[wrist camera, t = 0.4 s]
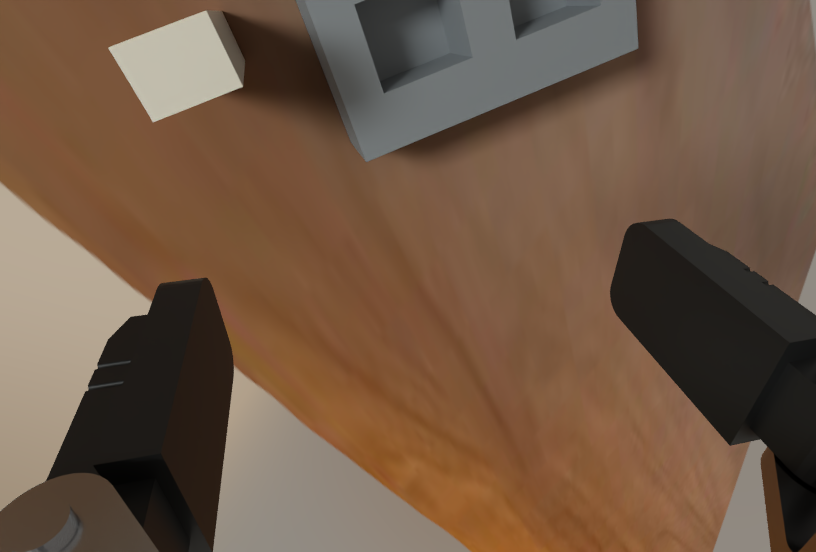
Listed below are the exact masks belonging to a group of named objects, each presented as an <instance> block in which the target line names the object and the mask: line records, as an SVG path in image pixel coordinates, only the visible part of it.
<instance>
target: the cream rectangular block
mask: <svg viewBox="0 0 816 552" xmlns="http://www.w3.org/2000/svg"><path fill="white" fill-rule="evenodd" d="M109 50H110V51H111V53H112V55H113V56H114V58H115V60H116V61H117V63H118V65H119V66H120V68H121V70H122V71H123V73H124V75H125V76H126V78H127V80H128V81H129V83H130V85H131V86H132V88H133V90H134V91H135V93H136V95H137V96H138V98H139V99H140V101H141V103H142V104H143V106H144V108H145V109H146V111H147V113H148V114H149V116H150V118H151V119H152V121H153V122H155V121H158V120H160V119H163V118H165V117H168V116H170V115H173V114H175V113H178V112H180V111H183V110H185V109H188V108H190V107H193V106H195V105H198V104H201V103H203V102H206V101H208V100H211V99H213V98H216V97H218V96H221V95H223V94H226V93H228V92H231V91H233V90H236V89H238V88H241V87H243V81H244V69H245V59H244V57H243V55H242V53H241V51H240V49H239V46H238V44H237V42H236V40H235V38H234V36H233V34H232V32H231V29H230V27H229V25H228V23H227V21H226V19H225V17H224V14H223V12H222V11H208V10H206V11H203V12H201V13H198V14H195V15H193V16H190V17H187V18H185V19H182V20H180V21H177V22H174V23H172V24H169V25H166V26H164V27H161V28H159V29H156V30H153V31H151V32H148V33H145V34H143V35H140V36H137V37H135V38H132V39H130V40H127V41H124V42H122V43H119V44H116V45H114V46H111V47H109Z"/></svg>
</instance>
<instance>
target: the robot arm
mask: <svg viewBox="0 0 816 552" xmlns="http://www.w3.org/2000/svg"><path fill="white" fill-rule="evenodd" d="M610 297H611V303H612V306H613V309H614V311H615V313H616V315H617V316H618V317H619V319H620V320H621V321H622V322H623V323H624V324H625V325H626V327H627V328H628V329H629V330H630V331H631V332H632V334H633V335H634V336H635V337H636V338H637V339H638V340H639V342H640V343H641V344H642V345H643V346H644V347H645V348H646V350H647V351H648V352H649V353H650V354H651V355H652V357H653V358H654V359H655V360H656V361H657V362H658V363H659V365H660V366H661V367H662V368H663V369H664V370H665V371H666V373H667V374H668V375H669V376H670V377H671V378H672V380H673V381H674V382H675V383H676V384H677V385H678V386H679V388H680V389H681V390H682V391H683V392H684V393H685V395H686V396H687V397H688V398H689V399H690V400H691V401H692V403H693V404H694V405H695V406H696V407H697V408H698V409H699V411H700V412H701V413H702V414H703V415H704V416H705V418H706V419H707V420H708V421H709V422H710V423H711V424H712V426H713V427H714V428H715V429H716V430H717V431H718V432H719V434H720V435H721V436H722V437H723V438H724V439H725V441H726V442H727V443H728V444H729V445H730V446H731V445H735V444H740V443H745V442H749V441H754V440H759V439H761V440H762V441H763V442H764V443H765V444H766V445H767V446H768V447H767V448H766V450H765V451H764V453H763V454H762V457H761V470H762V479H763V487H764V496H765V504H766V513H767V521H768V530H769V538H770V547H771V552H816V315H815V314H813V313H812V312H810V311H809V310H808V309H806V308H805V307H803V306H802V305H801V304H799V303H798V302H797V301H795V300H794V299H792V298H791V297H790V296H788V295H787V294H785V293H784V292H783V291H781V290H780V289H778V288H777V287H776V286H774V285H769V284H768V281H767V280H766V279H765V278H763V277H762V276H760V275H759V274H758V273H756V272H755V271H752V272H751V271H750V268H749V267H748V266H746V265H745V264H744V263H742V262H741V261H740V260H738V259H737V258H735V257H734V256H733V255H731V254H730V253H728V252H727V251H724V250H722V249H720V248H717V247H715V246H713V245H711V244H709V243H707V242H706V241H704V240H703V239H702V238H700V237H699V236H698V235H696V234H695V233H693V232H692V231H691V230H689V229H688V228H687V227H685V226H684V225H683V224H681V223H680V222H678V221H677V220H674V219H664V220H656V221H648V222H640V223H634V224H632V225H631V226H630V227H629V228H628V229H627V231H626V233H625V236H624V240H623V243H622V247H621V251H620V254H619V258H618V262H617V265H616V269H615V273H614V277H613V280H612V284H611V289H610ZM233 374H234V366H233V355H232V349H231V344H230V341H229V338H228V335H227V331H226V328H225V325H224V322H223V319H222V316H221V312H220V309H219V306H218V303H217V300H216V297H215V293H214V290H213V287H212V285H211V283H210V281H209V280H208V278H199V279H191V280H183V281H176V282H168V283H161V284H160V285H159V286H158V288H157V290H156V293H155V296H154V299H153V301H152V304H151V307H150V310H149V312H148V315H142V316H134V317H130V318H129V319H128V320H127V321H126V322H125V323H124V324H123V325H122V326H121V327H120V328H119V329H118V330H117V331H116V332H115V333H114V334H113V335H112V336H111V337H110V338H109V339H108V341H107V344H106V346H105V348H104V350H103V353H102V355H101V357H100V359H99V362H98V369H96V370H95V371H94V373H93V375H92V378H91V380H90V382H89V385H88V388H89V390H88V391H86V392H85V394H84V396H83V398H82V400H81V403H80V405H79V407H78V410H77V412H76V414H75V416H74V419H73V421H72V423H71V426H70V428H69V430H68V433H67V435H66V437H65V439H64V441H63V444H62V446H61V449H60V451H59V453H58V455H57V458H56V460H55V462H54V464H53V467H52V469H51V471H50V474H49V476H48V478H47V480H46V481H45V482H43V483H41V484H39V485H37V486H35V487H33V488H31V489H30V490H28V491H26V492H25V493H23V494H22V495H20V496H19V497H17V498H16V499H15V500H13V501H12V502H11V503H10V504H8V505H7V506H6V507H5V508H3V509H2V510H1V511H0V552H213V545H214V536H215V528H216V520H217V511H218V503H219V494H220V486H221V477H222V469H223V460H224V452H225V444H226V435H227V434H226V433H227V427H228V418H229V410H230V401H231V392H232V384H233Z"/></svg>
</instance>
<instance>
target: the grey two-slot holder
mask: <svg viewBox="0 0 816 552" xmlns="http://www.w3.org/2000/svg"><path fill="white" fill-rule="evenodd" d="M296 2H297V5H298V8H299V10H300V13H301V15H302V18H303V20H304V23H305V25H306V28H307V31H308V33H309V36H310V38H311V41H312V43H313V46H314V49H315V51H316V54H317V56H318V59H319V61H320V64H321V67H322V69H323V72H324V74H325V77H326V79H327V82H328V85H329V87H330V90H331V92H332V95H333V97H334V100H335V102H336V105H337V108H338V110H339V113H340V115H341V118H342V120H343V123H344V126H345V128H346V131H347V133H348V136H349V138H350V141H351V143H352V144H353V146H354V147H355V148H356V150H357V151H358V152H359V153H360V155H361V156H362V157H363V158H364V160H365V161H366V162H368V161H370V160H372V159H375V158H377V157H380V156H382V155H384V154H387V153H389V152H392V151H394V150H396V149H399V148H401V147H404V146H406V145H408V144H411V143H413V142H415V141H418V140H420V139H423V138H425V137H427V136H430V135H432V134H435V133H437V132H439V131H442V130H444V129H447V128H449V127H451V126H454V125H456V124H459V123H461V122H463V121H466V120H468V119H471V118H473V117H475V116H478V115H480V114H483V113H485V112H487V111H490V110H492V109H495V108H497V107H499V106H502V105H504V104H507V103H509V102H511V101H514V100H516V99H518V98H521V97H523V96H526V95H528V94H530V93H533V92H535V91H538V90H540V89H542V88H545V87H547V86H550V85H552V84H554V83H557V82H559V81H562V80H564V79H566V78H569V77H571V76H574V75H576V74H578V73H581V72H583V71H586V70H588V69H590V68H593V67H595V66H598V65H600V64H602V63H605V62H607V61H610V60H612V59H614V58H617V57H619V56H621V55H624V54H626V53H629V52H631V51H633V50H636V49H638V31H637V12H636V0H296Z"/></svg>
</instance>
